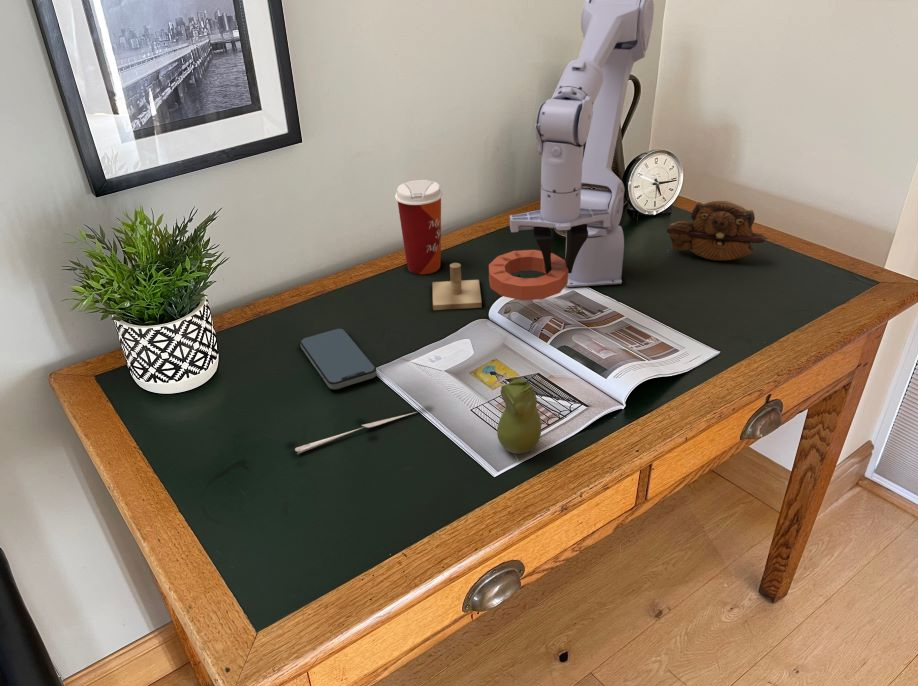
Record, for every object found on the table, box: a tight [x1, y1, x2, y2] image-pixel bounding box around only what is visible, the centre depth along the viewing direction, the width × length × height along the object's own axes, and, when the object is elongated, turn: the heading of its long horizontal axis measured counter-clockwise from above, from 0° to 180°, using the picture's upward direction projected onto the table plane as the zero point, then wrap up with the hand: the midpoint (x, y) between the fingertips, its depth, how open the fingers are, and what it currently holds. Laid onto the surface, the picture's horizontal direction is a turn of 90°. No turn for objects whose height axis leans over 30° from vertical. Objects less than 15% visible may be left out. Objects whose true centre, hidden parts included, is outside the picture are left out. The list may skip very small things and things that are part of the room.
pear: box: [496, 378, 542, 455], centre depth 97 cm, size 6×5×10 cm
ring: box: [488, 249, 568, 301], centre depth 120 cm, size 12×12×2 cm
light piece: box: [294, 409, 424, 455], centre depth 104 cm, size 4×1×19 cm
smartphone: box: [299, 328, 378, 390], centre depth 118 cm, size 8×2×15 cm
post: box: [431, 262, 483, 311], centre depth 131 cm, size 8×8×6 cm
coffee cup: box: [394, 179, 444, 275], centre depth 138 cm, size 8×8×15 cm
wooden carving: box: [666, 200, 768, 262], centre depth 136 cm, size 16×5×10 cm, turn 68°
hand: (557, 271), depth 120 cm, fingers closed on ring, 2 cm apart
